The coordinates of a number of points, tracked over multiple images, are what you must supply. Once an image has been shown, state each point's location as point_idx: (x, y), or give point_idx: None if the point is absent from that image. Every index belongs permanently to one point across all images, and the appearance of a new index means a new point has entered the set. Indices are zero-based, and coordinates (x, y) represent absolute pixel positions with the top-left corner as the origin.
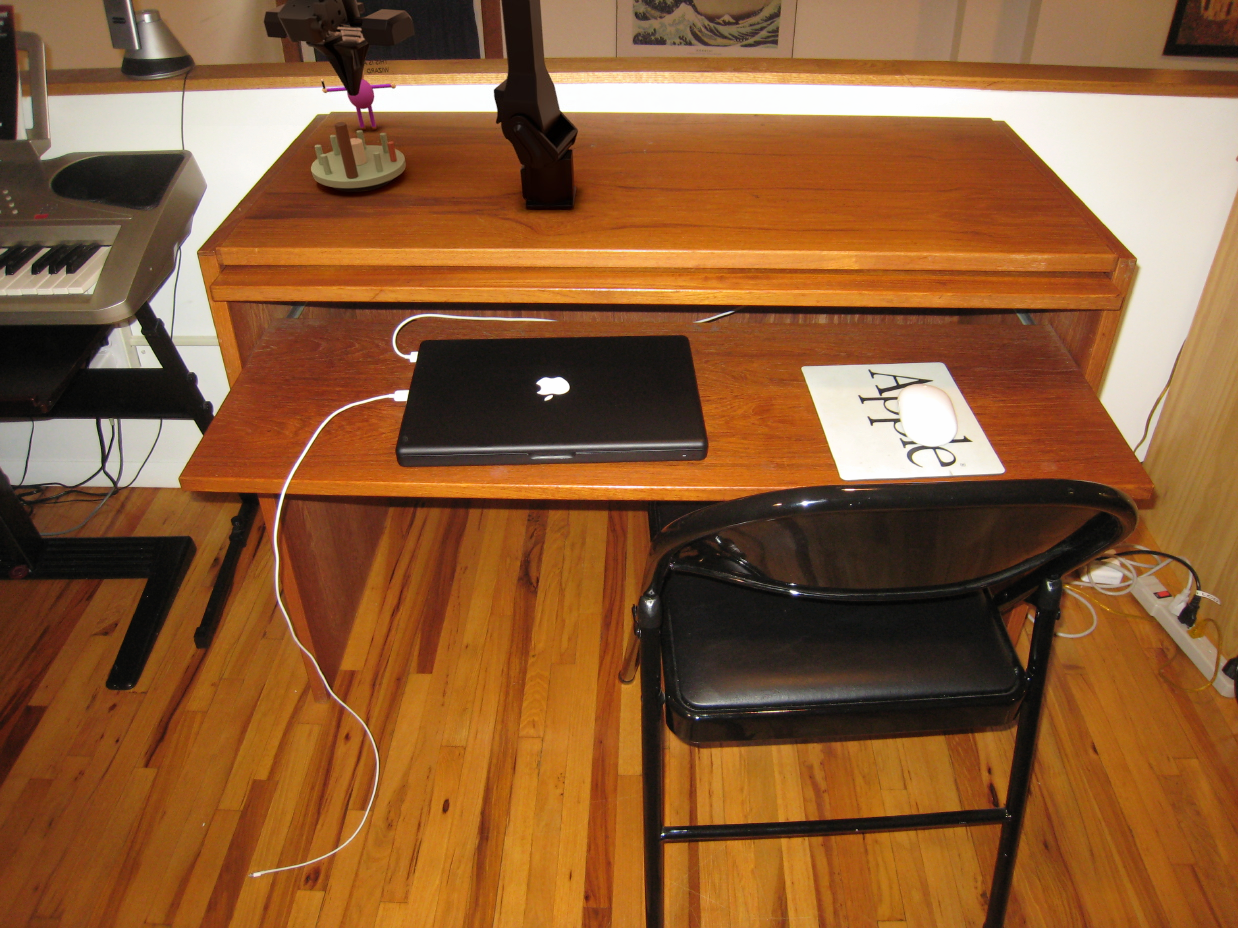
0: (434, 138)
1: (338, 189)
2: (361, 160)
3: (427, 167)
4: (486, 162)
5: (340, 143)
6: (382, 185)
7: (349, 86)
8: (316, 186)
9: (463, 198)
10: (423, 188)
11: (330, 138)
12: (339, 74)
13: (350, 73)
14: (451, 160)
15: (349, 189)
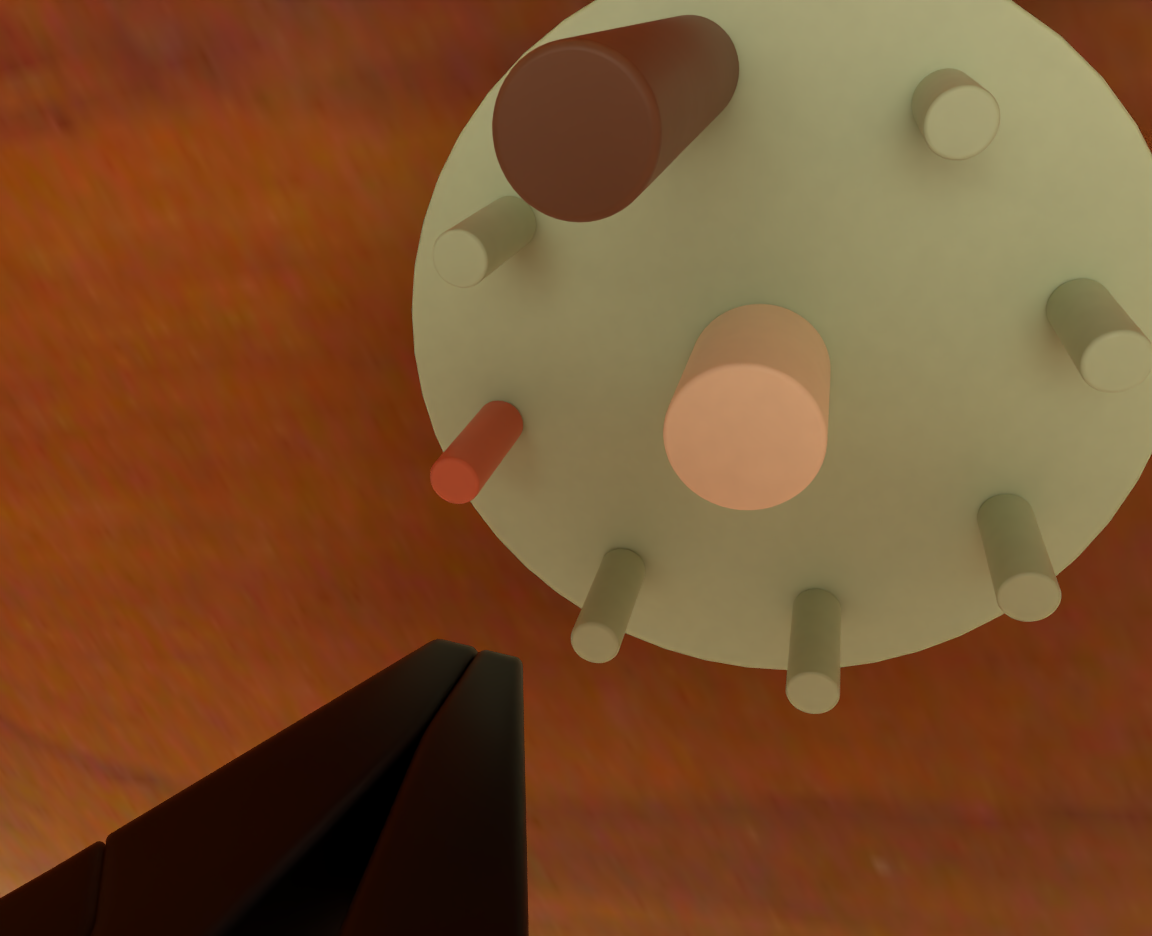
0: (568, 880)
1: None
2: (699, 339)
3: (428, 534)
4: (168, 604)
5: (637, 28)
6: None
7: (418, 722)
8: None
9: (9, 123)
10: (300, 234)
11: (1048, 571)
12: (462, 889)
13: (165, 836)
14: (347, 625)
15: None
